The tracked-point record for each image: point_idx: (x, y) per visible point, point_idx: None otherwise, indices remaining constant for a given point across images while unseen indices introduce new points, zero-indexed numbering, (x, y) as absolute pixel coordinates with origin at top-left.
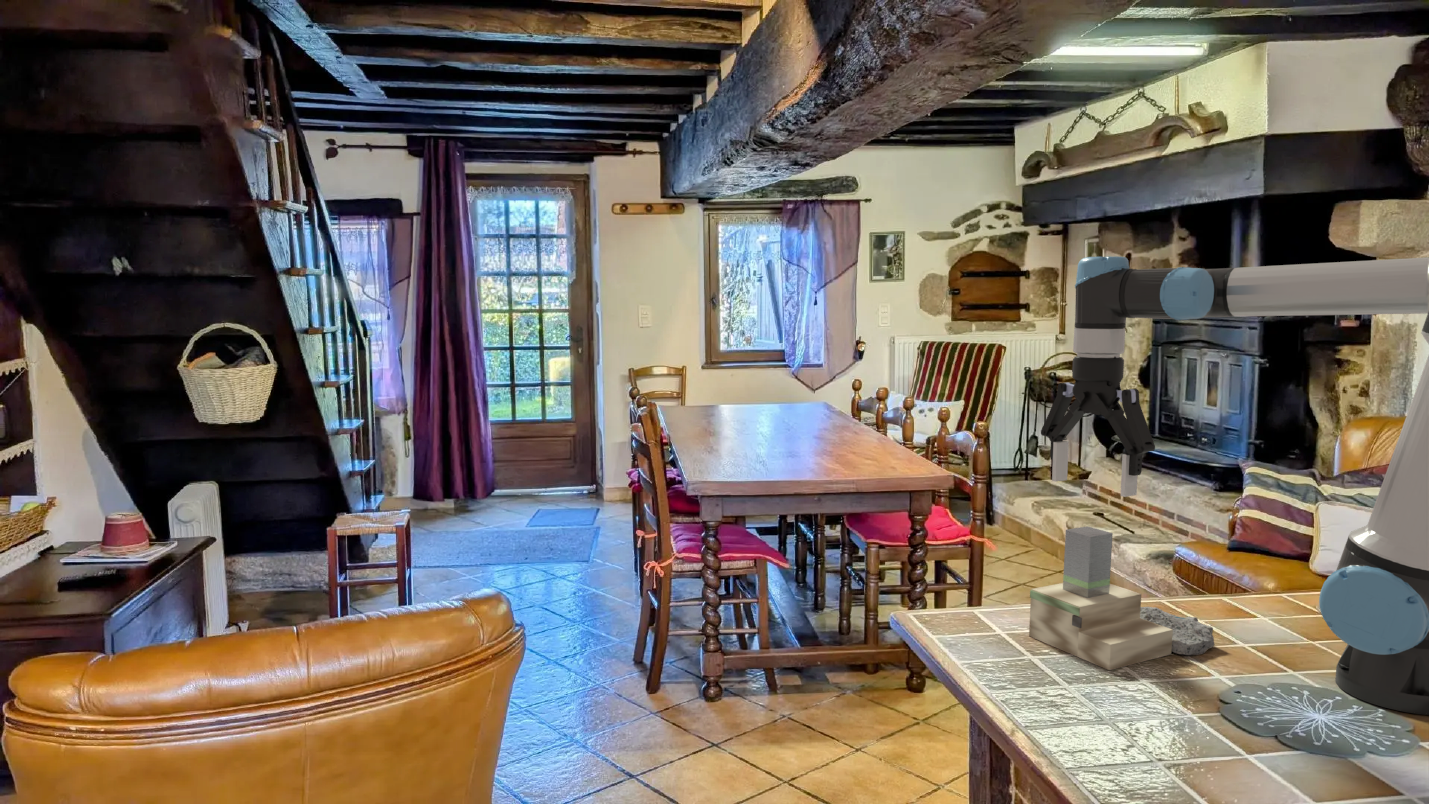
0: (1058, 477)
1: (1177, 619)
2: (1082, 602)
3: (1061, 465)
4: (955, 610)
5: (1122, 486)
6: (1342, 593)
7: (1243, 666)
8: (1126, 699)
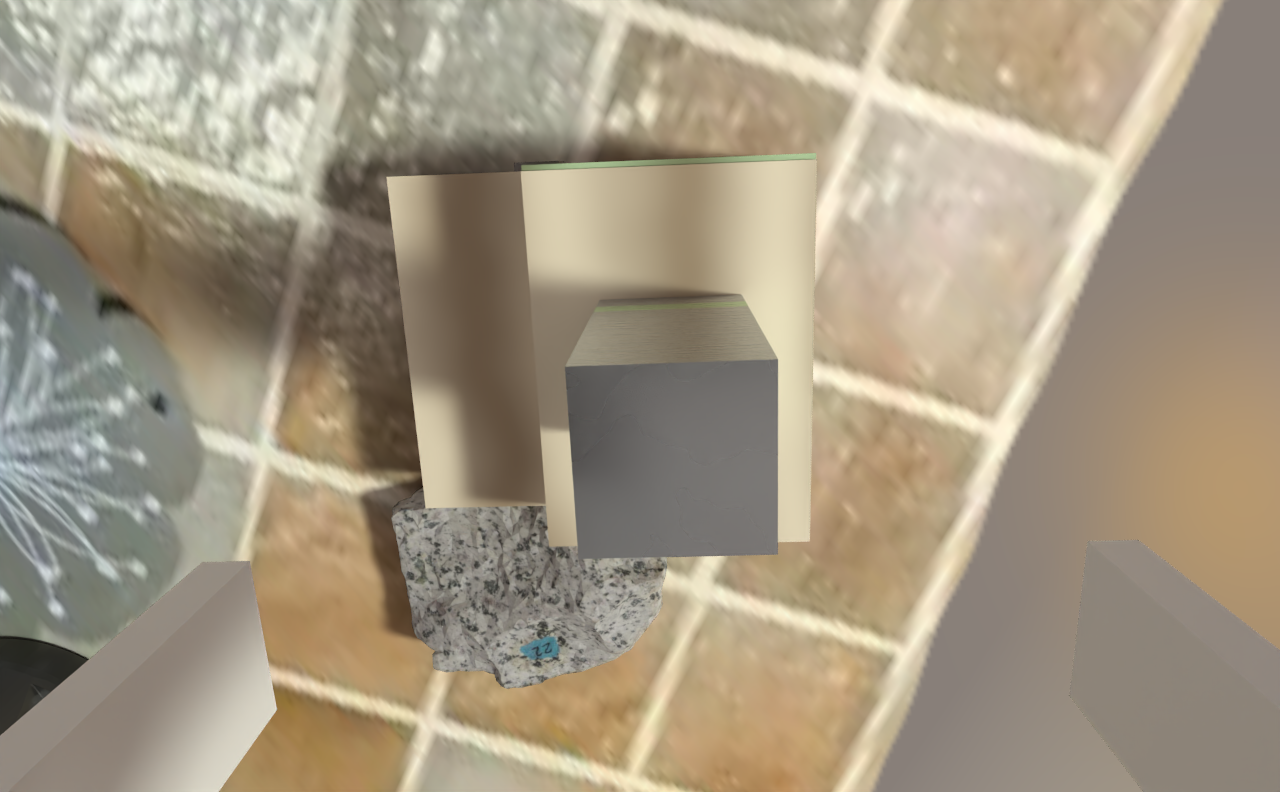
0: (1105, 601)
1: (515, 619)
2: (564, 232)
3: (1180, 722)
4: (1156, 93)
5: (174, 611)
6: None
7: (300, 581)
8: (209, 30)
